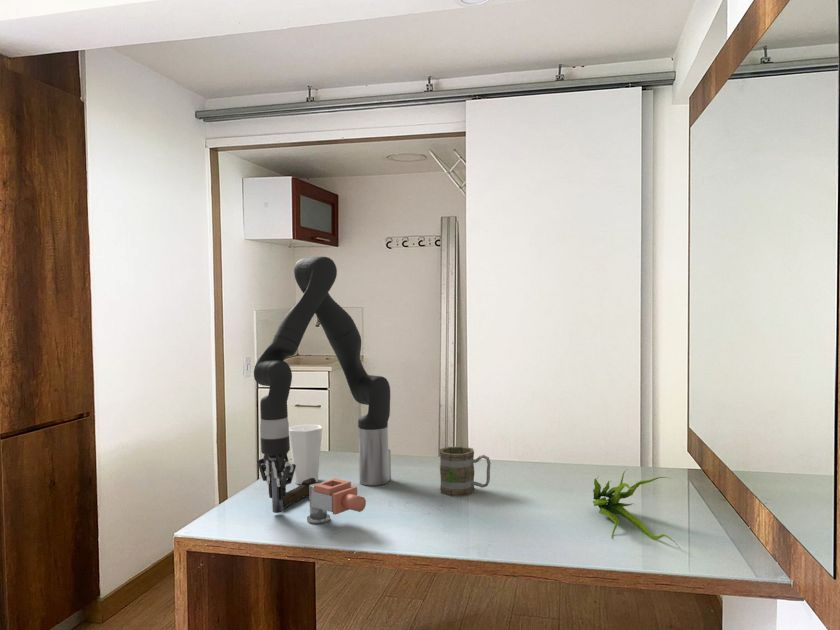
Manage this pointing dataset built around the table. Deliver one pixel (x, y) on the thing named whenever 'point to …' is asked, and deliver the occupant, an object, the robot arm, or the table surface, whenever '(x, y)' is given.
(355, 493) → the bracket
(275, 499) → the steel pin
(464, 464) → the mug
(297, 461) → the cup
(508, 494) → the table surface
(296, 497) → the hand tool
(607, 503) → the decorative plant
